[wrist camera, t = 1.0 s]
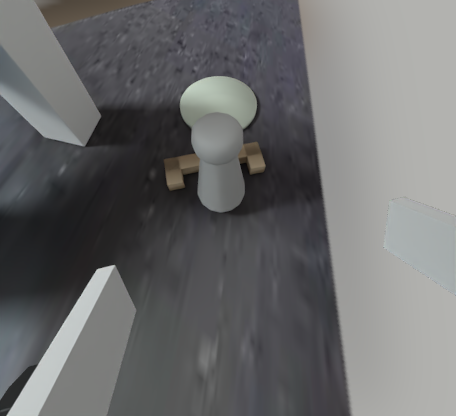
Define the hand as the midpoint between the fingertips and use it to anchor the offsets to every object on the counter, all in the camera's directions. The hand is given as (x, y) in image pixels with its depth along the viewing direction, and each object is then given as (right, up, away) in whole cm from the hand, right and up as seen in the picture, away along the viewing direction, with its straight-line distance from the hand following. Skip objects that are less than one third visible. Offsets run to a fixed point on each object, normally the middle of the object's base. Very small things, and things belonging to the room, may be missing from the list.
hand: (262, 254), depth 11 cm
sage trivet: (-3, +18, +24) cm, 31 cm away
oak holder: (-3, +8, +20) cm, 22 cm away
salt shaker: (-2, +4, +19) cm, 19 cm away
